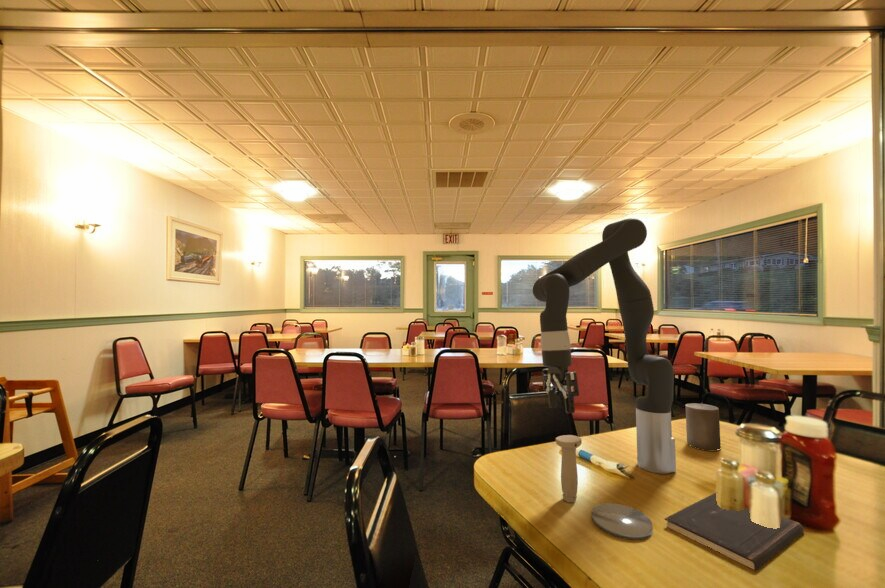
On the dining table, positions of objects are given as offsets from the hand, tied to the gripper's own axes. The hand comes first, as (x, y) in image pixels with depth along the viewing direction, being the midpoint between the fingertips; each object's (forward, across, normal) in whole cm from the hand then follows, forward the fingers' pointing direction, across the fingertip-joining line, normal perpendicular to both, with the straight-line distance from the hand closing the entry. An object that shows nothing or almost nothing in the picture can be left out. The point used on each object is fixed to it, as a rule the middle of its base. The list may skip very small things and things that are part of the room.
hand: (561, 410), depth 96 cm
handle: (+21, -3, +2) cm, 21 cm away
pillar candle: (+22, +20, -64) cm, 70 cm away
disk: (+22, -14, -4) cm, 27 cm away
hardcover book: (+24, -21, -26) cm, 41 cm away
